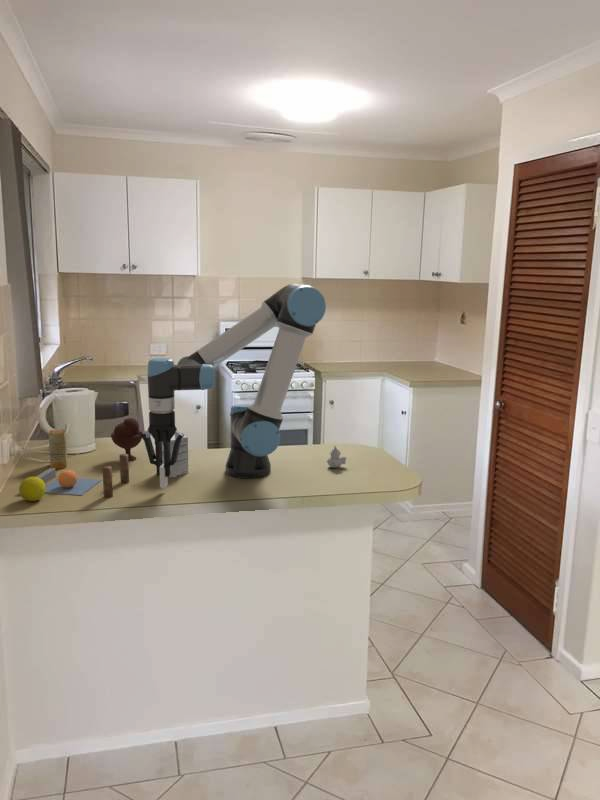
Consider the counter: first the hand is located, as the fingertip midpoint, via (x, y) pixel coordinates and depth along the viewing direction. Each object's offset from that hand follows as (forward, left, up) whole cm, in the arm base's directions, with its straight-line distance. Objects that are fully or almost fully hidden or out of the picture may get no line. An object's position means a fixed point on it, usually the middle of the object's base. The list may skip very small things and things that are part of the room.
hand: (163, 486), depth 198 cm
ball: (+30, +1, +1) cm, 30 cm away
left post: (+15, +6, -2) cm, 16 cm away
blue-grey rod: (+40, 0, -2) cm, 40 cm away
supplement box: (+3, -18, -2) cm, 18 cm away
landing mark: (+30, 0, -2) cm, 30 cm away
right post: (+15, -6, -2) cm, 16 cm away
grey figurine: (-50, -34, -2) cm, 61 cm away
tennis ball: (+35, +13, -2) cm, 37 cm away
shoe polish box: (+43, -18, -2) cm, 47 cm away
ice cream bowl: (+23, -29, -2) cm, 37 cm away
